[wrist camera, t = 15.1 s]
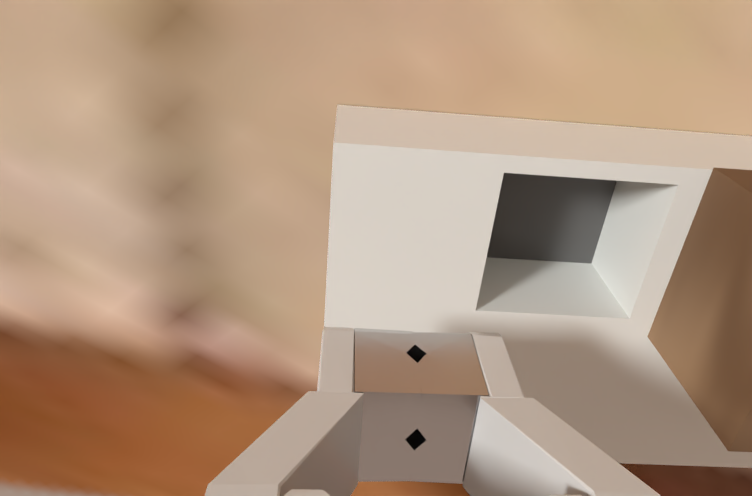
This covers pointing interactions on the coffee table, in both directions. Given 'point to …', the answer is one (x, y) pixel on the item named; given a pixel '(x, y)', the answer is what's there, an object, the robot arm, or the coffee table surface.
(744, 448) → the block
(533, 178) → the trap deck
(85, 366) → the coffee table surface
